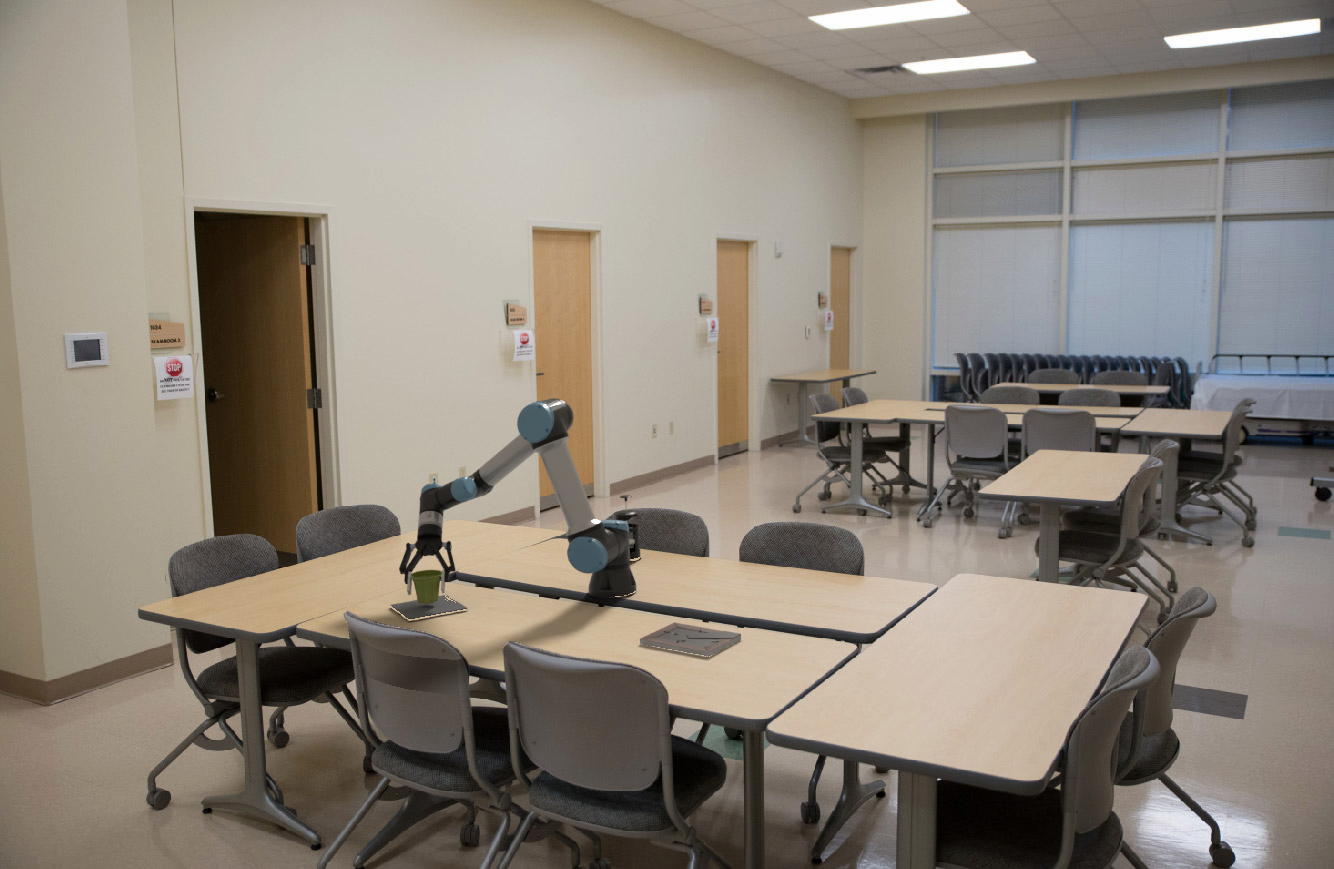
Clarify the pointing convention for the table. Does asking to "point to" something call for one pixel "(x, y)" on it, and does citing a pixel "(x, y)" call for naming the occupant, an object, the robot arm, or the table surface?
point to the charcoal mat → (427, 607)
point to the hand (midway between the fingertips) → (425, 591)
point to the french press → (626, 516)
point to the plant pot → (427, 585)
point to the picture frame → (691, 639)
